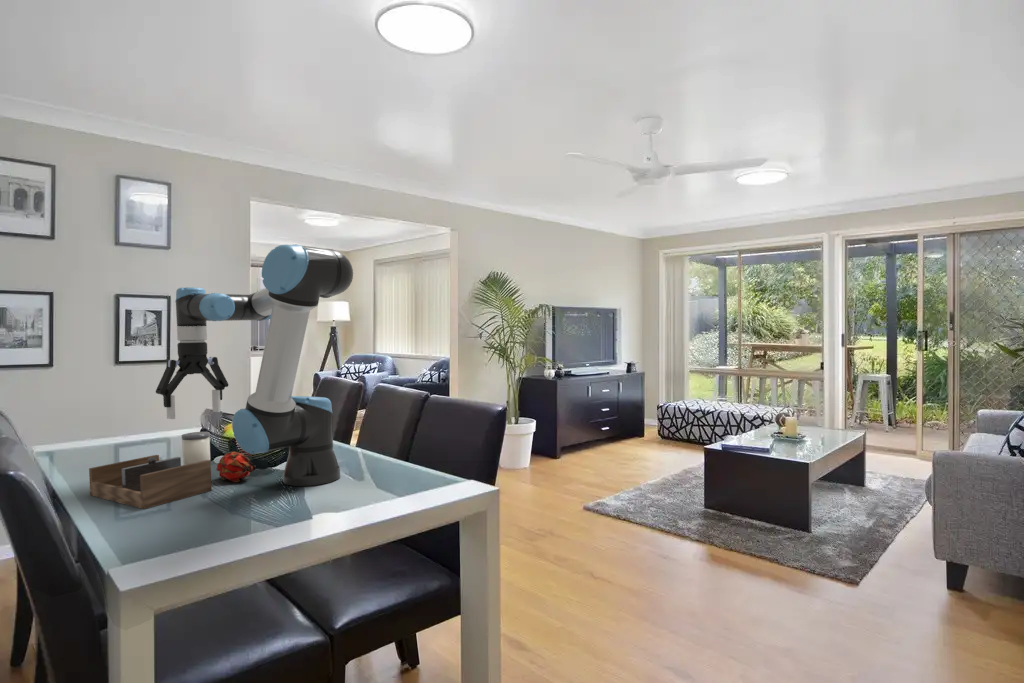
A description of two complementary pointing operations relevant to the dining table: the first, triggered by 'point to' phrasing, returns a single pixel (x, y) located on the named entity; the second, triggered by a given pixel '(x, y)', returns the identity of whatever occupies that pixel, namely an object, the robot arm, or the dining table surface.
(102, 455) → the dining table surface
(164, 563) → the dining table surface
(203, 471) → the wooden box
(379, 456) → the dining table surface
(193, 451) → the jar
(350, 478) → the dining table surface
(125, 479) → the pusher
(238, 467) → the dragon fruit
